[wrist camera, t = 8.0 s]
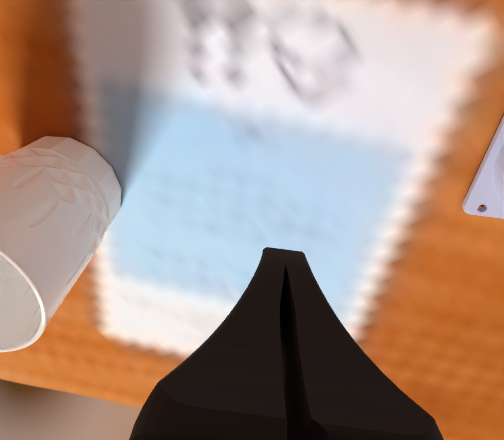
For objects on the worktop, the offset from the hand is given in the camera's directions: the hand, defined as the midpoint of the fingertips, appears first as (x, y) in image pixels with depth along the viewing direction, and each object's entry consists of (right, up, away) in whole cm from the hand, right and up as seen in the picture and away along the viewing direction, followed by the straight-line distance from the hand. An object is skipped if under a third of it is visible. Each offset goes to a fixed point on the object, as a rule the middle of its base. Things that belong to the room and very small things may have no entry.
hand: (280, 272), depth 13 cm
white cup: (-13, +4, +12) cm, 18 cm away
